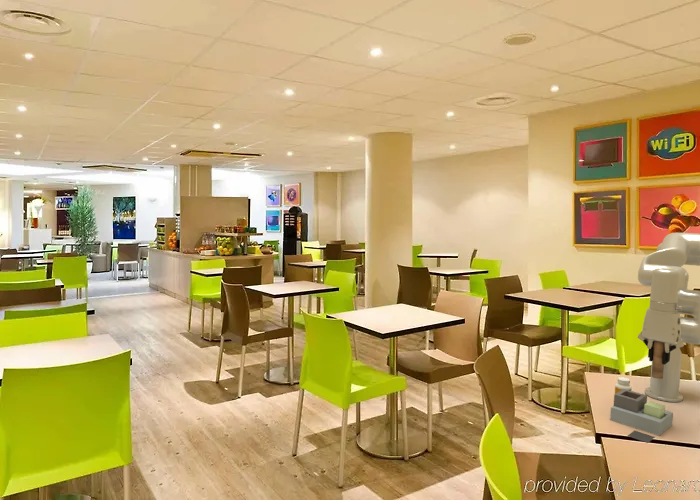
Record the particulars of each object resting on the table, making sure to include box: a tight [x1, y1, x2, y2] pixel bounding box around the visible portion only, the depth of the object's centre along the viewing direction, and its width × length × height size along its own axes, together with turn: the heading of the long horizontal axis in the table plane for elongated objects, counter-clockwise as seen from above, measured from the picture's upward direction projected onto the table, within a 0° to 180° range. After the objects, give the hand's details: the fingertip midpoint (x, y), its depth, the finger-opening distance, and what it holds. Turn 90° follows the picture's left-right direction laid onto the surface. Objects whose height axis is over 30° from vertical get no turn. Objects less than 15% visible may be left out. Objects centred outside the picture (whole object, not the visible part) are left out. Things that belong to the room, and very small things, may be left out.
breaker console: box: [609, 389, 674, 437], centre depth 171 cm, size 12×15×9 cm
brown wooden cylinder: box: [650, 341, 665, 379], centre depth 166 cm, size 3×3×14 cm
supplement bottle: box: [614, 376, 633, 394], centre depth 188 cm, size 5×5×10 cm
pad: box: [627, 430, 655, 444], centre depth 161 cm, size 6×6×1 cm
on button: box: [644, 400, 666, 419], centre depth 168 cm, size 5×5×5 cm
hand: (658, 361), depth 166 cm, fingers closed on brown wooden cylinder, 3 cm apart
